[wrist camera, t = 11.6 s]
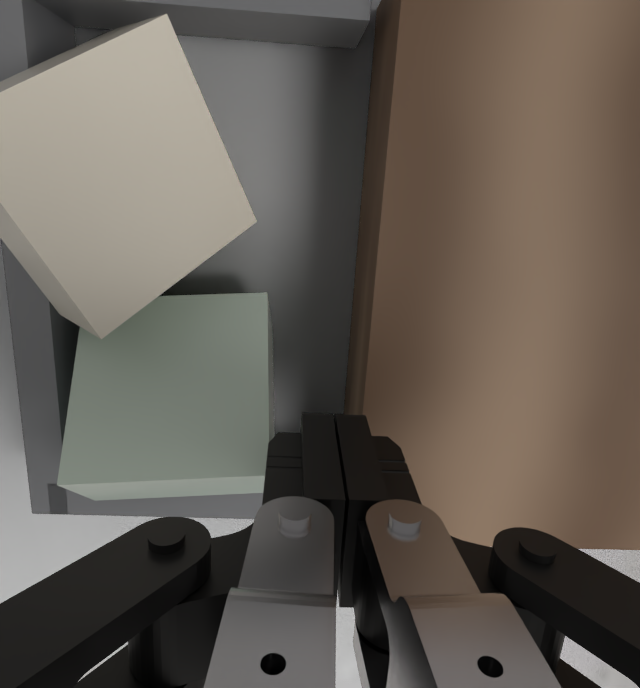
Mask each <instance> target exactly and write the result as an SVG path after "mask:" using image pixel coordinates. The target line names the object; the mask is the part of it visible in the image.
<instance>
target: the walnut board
mask: <svg viewBox="0 0 640 688" xmlns="http://www.w3.org/2000/svg"><path fill="white" fill-rule="evenodd" d="M344 414H349V415H366V417H367V421H368V425H369V428H370V432H371V435H372V436H388V437H389V438H390V439H391V440H392V441H394V442H395V443H396V444H397V445H398V446H399V447H401V450H402V452H403V455H404V458H405V463H407V466H408V468H409V473H410V474H411V477H412V479H413V482H414V485H415V487H416V490H417V493H418V495H419V498H420V501H421V503H422V505H424V506H426V507H428V508H429V509H431V510H432V511H434V512H435V513H436V514H437V515H438V516H439V517H440V518H441V520H442V521H443V523H444V525H445V527H446V529H447V531H448V533H449V535H450V536H452V537H455V538H458V539H460V540H464V541H467V542H471V543H475V544H480V545H484V546H488V547H492V546H493V541H494V538H495V536H496V535H497V534H498V533H499V532H500V531H502V530H505V529H508V528H514V527H523V528H531V529H536V530H539V531H543V532H545V533H548V534H550V535H552V536H554V537H556V538H558V539H560V540H562V541H564V542H566V543H567V544H569V545H571V546H573V547H575V548H577V549H621V550H640V0H381V2H380V4H379V5H378V7H377V12H376V24H375V36H374V49H373V61H372V73H371V85H370V97H369V110H368V122H367V134H366V146H365V158H364V171H363V183H362V195H361V207H360V219H359V232H358V244H357V256H356V268H355V281H354V293H353V305H352V317H351V329H350V342H349V354H348V366H347V378H346V390H345V403H344Z"/></svg>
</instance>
